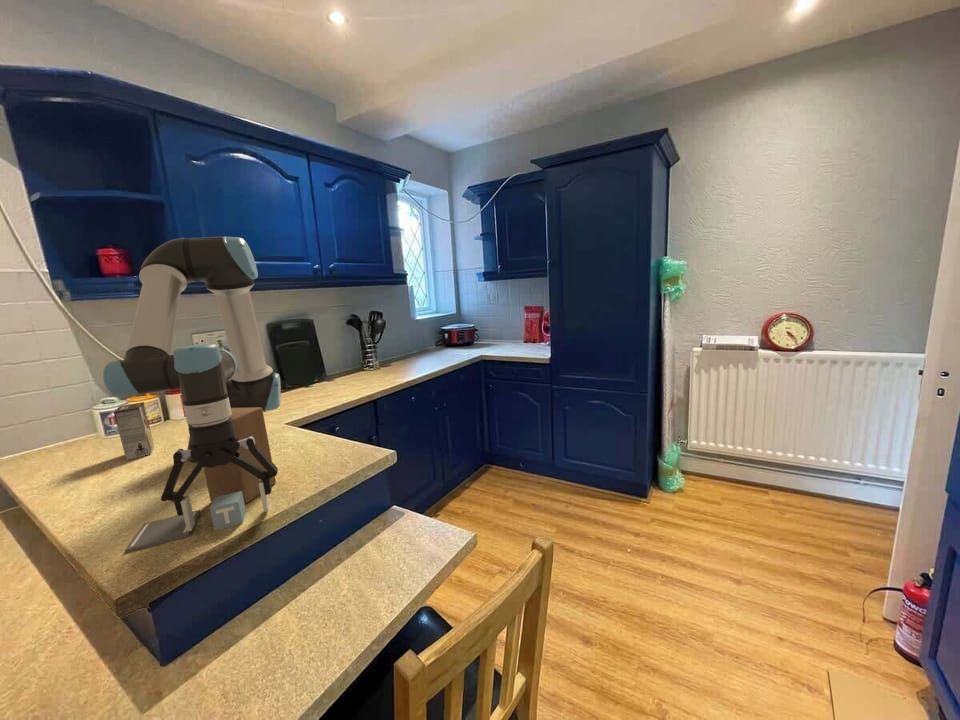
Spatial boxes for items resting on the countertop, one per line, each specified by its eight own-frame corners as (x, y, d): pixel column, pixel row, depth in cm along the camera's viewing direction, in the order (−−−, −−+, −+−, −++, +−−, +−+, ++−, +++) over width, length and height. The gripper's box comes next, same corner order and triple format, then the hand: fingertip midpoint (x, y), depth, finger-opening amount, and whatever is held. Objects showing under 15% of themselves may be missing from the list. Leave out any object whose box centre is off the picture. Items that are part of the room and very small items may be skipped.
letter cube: (219, 518, 84) (214, 497, 83) (246, 511, 86) (241, 490, 85) (214, 531, 79) (209, 508, 79) (242, 523, 81) (238, 501, 80)
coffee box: (130, 452, 130) (118, 405, 127) (155, 446, 134) (144, 401, 131) (125, 461, 123) (112, 411, 120) (151, 455, 126) (140, 407, 123)
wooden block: (246, 504, 89) (229, 420, 86) (209, 503, 91) (191, 421, 88) (277, 482, 99) (262, 406, 95) (243, 482, 101) (228, 407, 97)
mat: (144, 525, 83) (144, 523, 83) (200, 512, 87) (200, 509, 87) (125, 552, 74) (124, 549, 74) (188, 536, 78) (187, 533, 78)
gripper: (124, 440, 71) (149, 546, 74) (278, 413, 80) (294, 509, 84) (140, 428, 78) (163, 526, 81) (280, 405, 87) (295, 494, 91)
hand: (230, 518), depth 82 cm, fingers open, 13 cm apart
